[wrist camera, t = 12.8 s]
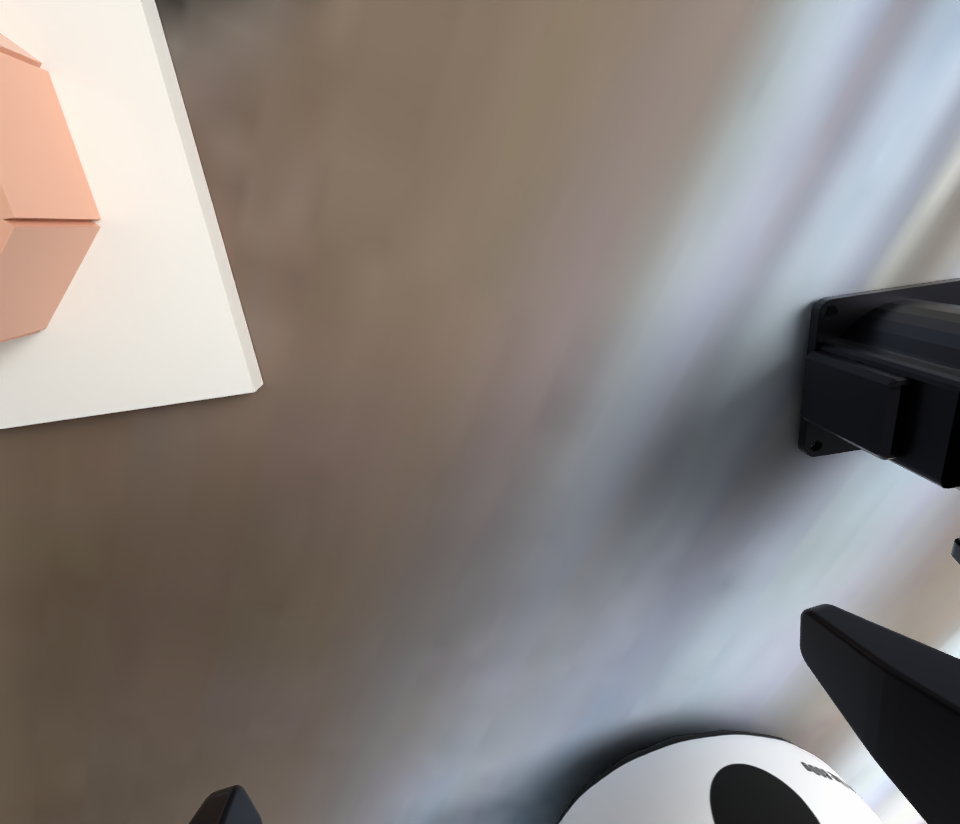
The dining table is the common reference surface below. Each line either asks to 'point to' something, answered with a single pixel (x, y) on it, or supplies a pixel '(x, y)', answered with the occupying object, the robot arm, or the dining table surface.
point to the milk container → (719, 785)
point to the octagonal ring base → (106, 223)
